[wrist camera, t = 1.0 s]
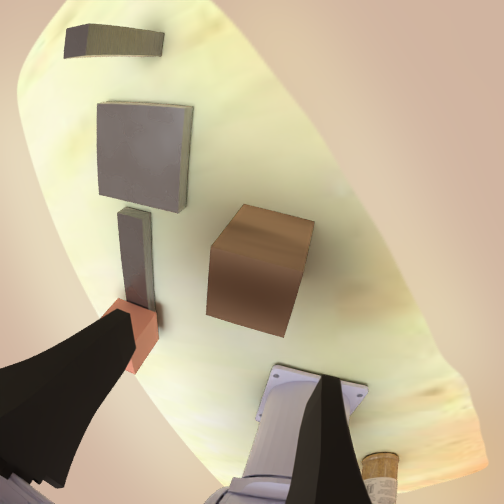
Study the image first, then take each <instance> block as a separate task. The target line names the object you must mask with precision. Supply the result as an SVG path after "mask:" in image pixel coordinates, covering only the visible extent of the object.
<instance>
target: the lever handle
mask: <svg viewBox="0 0 504 504" xmlns="http://www.w3.org/2000/svg"><path fill="white" fill-rule="evenodd" d="M117 308H118V309H120V310H123V311H125V312H127V313H130V316H131V322H132V328H133V333H134V339H135V344H136V350H135V352H134V354H133V356H132V358H131V360H130V362H129V364H128V365H127V367H126V369H125V370H126V371H128V372H131V373H133V374H136V373H137V371H138V369H139V368H140V366H141V365H142V363H143V362H144V360H145V359H146V357H147V356H148V354H149V353H150V351H151V350H152V348H153V347H154V345H155V344H156V342H157V341H158V339H159V335H158V325H157V314H156V312H153V311H151V310H148V309H145V308H143V307H140V306H137V305H135V304H132V303H130V302H127V301H124V300H122V299H119V298H118V299H117V300H116V301H115V302H114V304H113V305H112V306H111V307H110V308H109V309H108V310H107V311H106V312H105V314H104V315H103V316H102V317H104V316H105V315H107V314H109V313H110V312H112V311H114V310H115V309H117ZM102 317H101V318H102Z"/></svg>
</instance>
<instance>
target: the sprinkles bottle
mask: <svg viewBox="0 0 504 504" xmlns="http://www.w3.org/2000/svg"><path fill="white" fill-rule="evenodd" d="M398 462H399V458H398V456H396V455H394V454H391V453H378V454H373V455H369V456H368V457H366V458H364V459H363V461H362V465H363V469H362V478H363V481H364V484H365V487H366V489H367V492H368V494H369V497H370V499H371V502H372V504H396V496H397V470H398Z"/></svg>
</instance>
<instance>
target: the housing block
mask: <svg viewBox="0 0 504 504" xmlns="http://www.w3.org/2000/svg"><path fill="white" fill-rule="evenodd" d="M313 227H314V221H310V220H306V219H302V218H299V217H295V216H291V215H287V214H283V213H279V212H275V211H271V210H267V209H263V208H259V207H254V206H250V205H246V204H244V205H243V206H242V207H241V208H240V210H239V211H238V212H237V214H236V215H235V216H234V217H233V219H232V220H231V221H230V223H229V224H228V225H227V226H226V228H225V229H224V230H223V232H222V233H221V234H220V236H219V237H218V238H217V239H216V241H215V242H214V243H213V245H212V246H211V250H210V263H209V276H208V291H207V306H206V315H209V316H212V317H215V318H218V319H221V320H225V321H228V322H231V323H234V324H238V325H241V326H244V327H248V328H251V329H255V330H258V331H262V332H265V333H269V334H272V335H276V336H279V337H283V338H284V335H285V332H286V329H287V326H288V322H289V319H290V316H291V313H292V309H293V306H294V303H295V299H296V296H297V293H298V289H299V286H300V282H301V279H302V275H303V272H304V268H305V263H306V259H307V254H308V250H309V245H310V241H311V236H312V232H313Z"/></svg>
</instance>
